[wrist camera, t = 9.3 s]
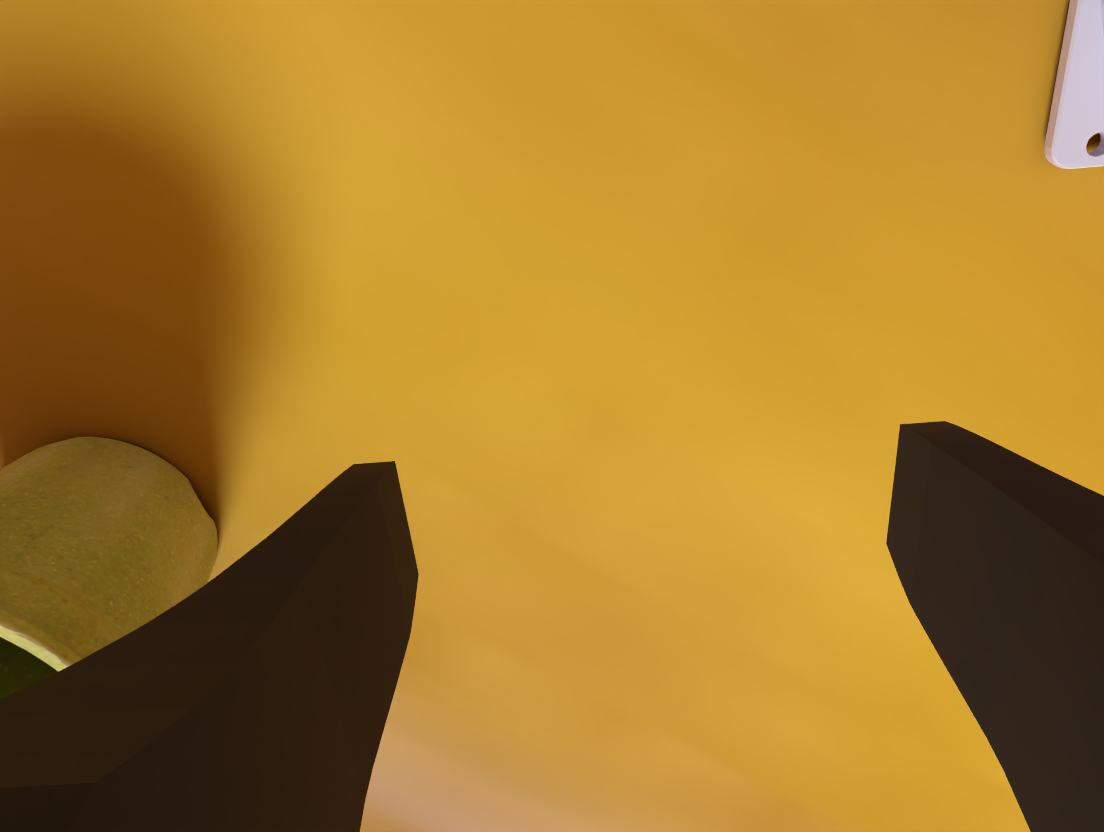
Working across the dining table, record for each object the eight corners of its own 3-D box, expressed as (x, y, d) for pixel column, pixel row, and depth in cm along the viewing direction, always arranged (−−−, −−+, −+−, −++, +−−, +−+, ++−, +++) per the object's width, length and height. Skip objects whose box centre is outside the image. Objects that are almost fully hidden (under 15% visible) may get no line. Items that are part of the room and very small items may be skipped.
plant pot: (-31, 323, 21) (-364, 511, 14) (316, 454, 23) (194, 686, 15) (-65, 581, 25) (-338, 839, 18) (233, 676, 27) (103, 949, 19)
